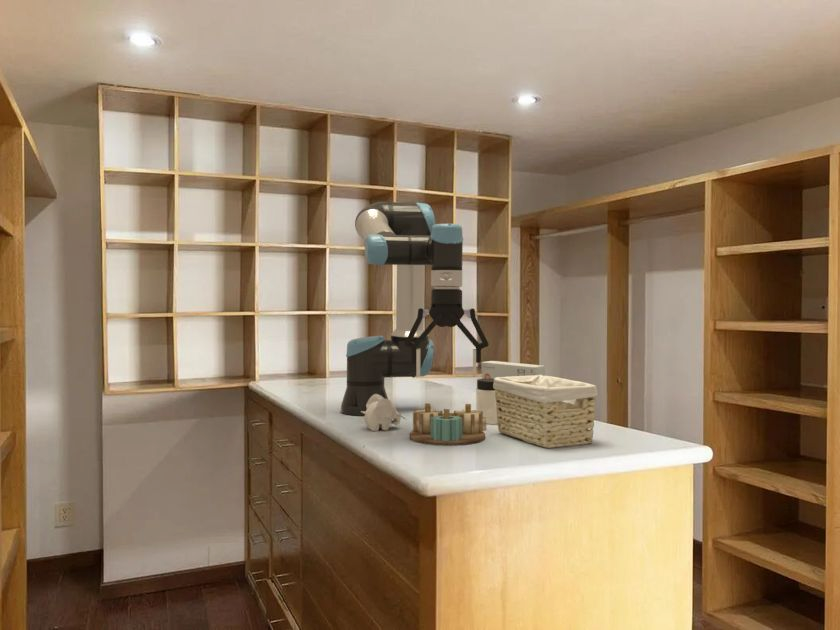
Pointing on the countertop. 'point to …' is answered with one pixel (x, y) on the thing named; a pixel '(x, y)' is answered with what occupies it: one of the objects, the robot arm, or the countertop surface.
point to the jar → (486, 400)
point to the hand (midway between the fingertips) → (446, 376)
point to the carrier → (470, 418)
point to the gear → (446, 428)
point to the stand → (484, 423)
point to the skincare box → (510, 369)
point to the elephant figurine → (380, 413)
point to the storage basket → (545, 410)
